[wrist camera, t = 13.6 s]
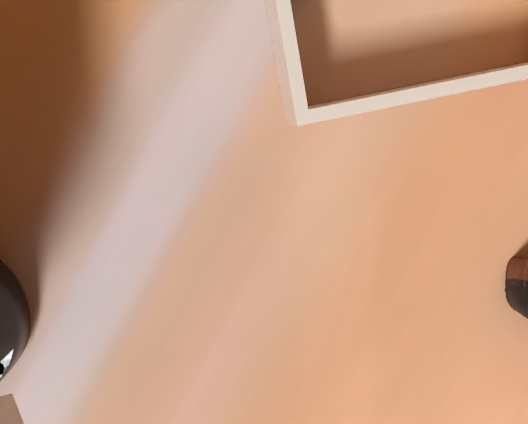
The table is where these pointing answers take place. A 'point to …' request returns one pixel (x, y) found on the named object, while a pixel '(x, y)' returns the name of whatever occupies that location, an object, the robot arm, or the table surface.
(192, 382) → the table surface
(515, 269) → the dark brown openwork dome
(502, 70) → the cream storage bin
